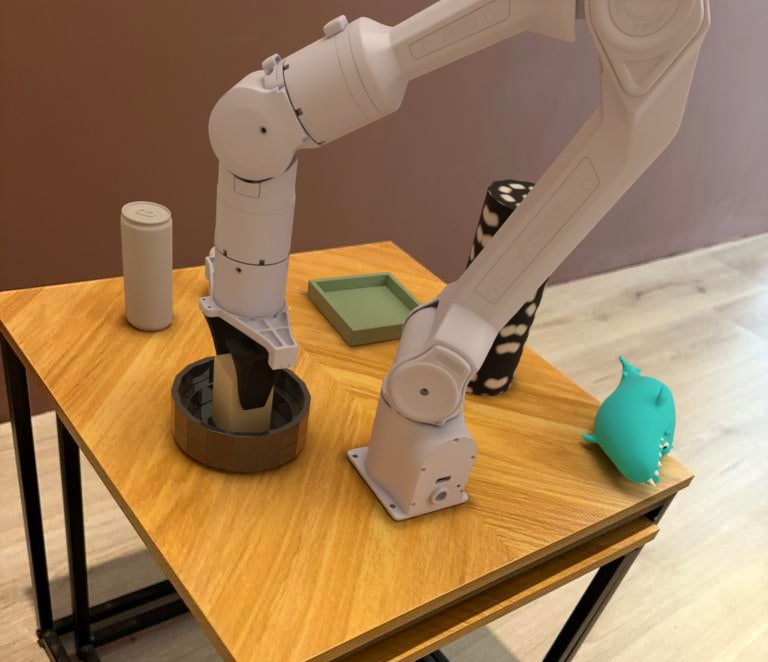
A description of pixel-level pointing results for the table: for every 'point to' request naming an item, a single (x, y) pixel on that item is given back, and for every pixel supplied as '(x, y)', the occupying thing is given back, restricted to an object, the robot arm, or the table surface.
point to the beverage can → (147, 265)
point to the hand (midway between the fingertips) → (242, 390)
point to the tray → (363, 305)
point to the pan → (237, 447)
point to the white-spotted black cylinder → (514, 334)
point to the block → (235, 401)
